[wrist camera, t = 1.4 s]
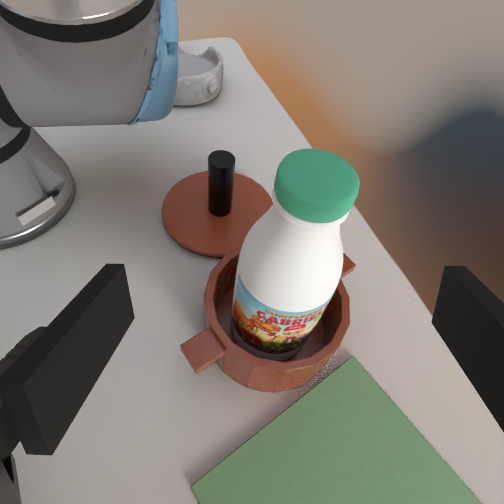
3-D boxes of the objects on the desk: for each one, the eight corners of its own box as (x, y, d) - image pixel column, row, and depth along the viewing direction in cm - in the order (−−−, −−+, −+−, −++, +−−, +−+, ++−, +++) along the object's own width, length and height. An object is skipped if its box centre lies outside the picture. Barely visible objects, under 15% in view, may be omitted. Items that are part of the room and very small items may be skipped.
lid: (143, 201, 44) (131, 142, 37) (233, 164, 49) (237, 107, 42) (201, 280, 38) (199, 228, 31) (295, 229, 43) (312, 175, 36)
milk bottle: (217, 307, 36) (225, 144, 20) (283, 282, 38) (337, 118, 22) (251, 378, 32) (295, 247, 16) (321, 344, 35) (420, 202, 19)
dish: (142, 62, 62) (137, 31, 58) (221, 67, 64) (222, 37, 60) (132, 110, 54) (126, 78, 50) (223, 114, 56) (225, 83, 52)
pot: (157, 325, 35) (149, 293, 29) (295, 247, 42) (307, 210, 37) (229, 442, 29) (233, 428, 24) (372, 329, 37) (399, 300, 31)
